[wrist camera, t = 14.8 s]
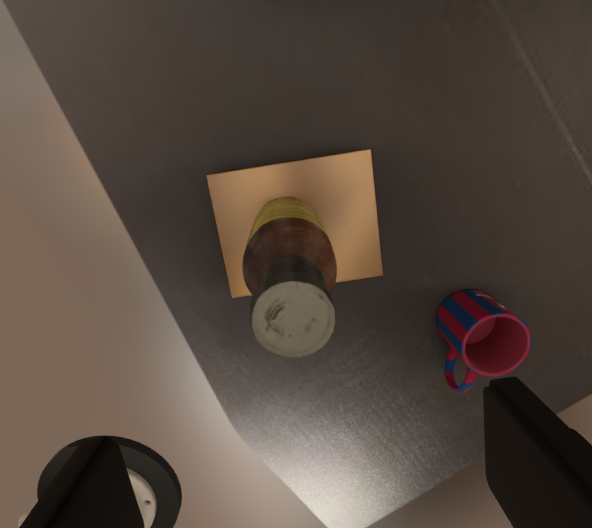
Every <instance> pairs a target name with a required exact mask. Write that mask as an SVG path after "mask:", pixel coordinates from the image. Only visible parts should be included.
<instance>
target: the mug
mask: <svg viewBox="0 0 592 528" xmlns="http://www.w3.org/2000/svg"><path fill="white" fill-rule="evenodd" d="M437 327H438V330H439V332H440V334H441V335H442V336H443V337H444V339H445V340H446V341H447V342H448V344H449V345H450V346H451V347H450V350H449V353H448V356H447V359H446V363H445V378H446V381H447V383H448V385H449V386H450V387H451V388H452V389H453V390H455V391H457V392H461V393H465V392H467V391H468V390H469V389H470V388H471V387H472V386H473V384H474V382H475V379H476V377H477V374H479V375H483V376H489V377H493V376H500V375H504V374H507V373H509V372H511V371H513V370H514V369H516V368H517V367H518V366H519V365H520V364H521V363H522V362H523V361H524V360H525V359H526V357H527V355H528V353H529V351H530V348H531V342H532V341H531V333H530V330H529V328H528V326H527V325H526V324H525V322H524V321H522V320H521V319H520V318H519V317H517V316H516V315H515V314H513V313H512V312H510V311H509V310H508V309H506V308H505V307H504V306H502V305H501V304H499V303H498V302H497V301H495V300H494V299H493V298H491V297H490V296H488V295H487V294H486V293H484V292H482V291H479V290H474V289H466V290H461V291H458V292H456V293H454V294H452V295H451V296H449V297H448V298H447V299H446V300H445V301H444V302H443V303H442V305H441V306H440V308H439V310H438V314H437ZM457 355H458V356H459V357H460V358H461V359H462V361H463V362H464V363H465V364H466V365H467V374H466V377H465V380H464V382H463V383H462V384H461V385H460V386H457V384H456V382H455V380H454V376H453V369H454V364H455V360H456V358H457Z"/></svg>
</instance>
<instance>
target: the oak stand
mask: <svg viewBox="0 0 592 528" xmlns="http://www.w3.org/2000/svg"><path fill="white" fill-rule="evenodd" d="M206 177H207V182H208V187H209V191H210V196H211V201H212V205H213V210H214V215H215V220H216V224H217V229H218V234H219V238H220V243H221V248H222V253H223V257H224V262H225V267H226V271H227V276H228V281H229V286H230V290H231V295H232V298H235V297H242V296H249V295H252V294H251V293H250V291H249V290H248V288H247V286H246V284H245V281H244V277H243V272H242V262H243V256H244V252H245V248H246V245H247V242H248V238H249V236H250V232H251V230H252V227H253V223H254V220H255V218H256V216H257V214H258V213H259V211H260V210H261V209H262V208H263V207H264V206H265V205H266V204H267V203H269V202H270V201H272V200H274V199H278V198H283V197H296V198H298V199H300V200H303V201H304V202H306V203H308V204H309V205H310V206H311V207H312V208H313V209H314V210H315V211H316V213H317V214H318V216H319V218H320V220H321V222H322V224H323V226H324V228H325V231H326V233H327V235H328V237H329V239H330V241H331V244H332V247H333V252H334V254H335V258H336V264H337V277H336V282H342V281H349V280H356V279H363V278H369V277H376V276H382V275H383V271H382V261H381V250H380V240H379V230H378V219H377V209H376V199H375V189H374V178H373V168H372V158H371V150H370V149H362V150H356V151H350V152H343V153H337V154H331V155H324V156H318V157H312V158H306V159H299V160H293V161H287V162H281V163H274V164H268V165H262V166H255V167H249V168H243V169H237V170H230V171H224V172H218V173H213V174H209V175H206Z"/></svg>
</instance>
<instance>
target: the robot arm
mask: <svg viewBox="0 0 592 528" xmlns="http://www.w3.org/2000/svg"><path fill="white" fill-rule="evenodd" d="M483 400H484V431H485V463H486V478H487V481H488V484H489V487H490V489H491V491H492V493H493V494H494V496H495V498H496V499H497V501H498V503H499V504H500V506H501V508H502V509H503V511H504V512H505V514H506V516H507V518H508V519H509V521H510V522H511V524H512V526H513V527H514V528H592V445H591V444H590V443H589V442H587V440H585V439H584V438H583V437H582V436H581V435H580V434H579V433H578V432H576V431H575V430H574V429H571V428H569V427H568V426H567V425H566V424H565V423H564V422H563V421H562V420H561V419H560V418H559V417H558V416H557V415H556V414H554V413H553V412H552V411H551V410H550V409H549V408H548V407H547V406H546V405H545V404H544V403H543V402H542V401H541V400H540V399H539V398H538V397H537V396H536V395H535V394H534V393H533V392H532V391H531V390H530V389H529V388H528V387H527V386H526V385H525V384H523V383H522V382H521V381H520V380H519V379H518V378H517V377H507V378H501V379H494V380H491V381H490V383H489V386H488V387H485V388H484V390H483ZM156 510H157V501H156V497H155V493H154V492H153V490H152V488H151V486H150V485H149V484H148V482H147V481H146V480H145V479H144V478H143V477H142V476H140V475H139V474H138V473H136V472H134V471H133V470H131V469H129V468H126V466H125V462H124V459H123V456H122V453H121V450H120V447H119V445H118V443H117V442H116V441H112V439H111V438H110V437H108V436H104V437H97V438H90V439H85V440H83V441H82V442H81V443H80V444H79V446H78V447H77V448H76V450H75V451H74V452H73V454H72V455H71V457H70V458H69V459H68V461H67V462H66V463H65V465H64V466H63V468H62V469H61V470H60V472H59V473H58V474H57V476H56V477H55V479H54V480H53V481H52V483H51V484H50V486H49V487H48V488H47V490H46V491H45V492H44V494H43V495H42V497H41V498H40V499H39V501H38V502H37V503H36V505H35V507H34V508H33V509H32V510H31V512H30V513H24V514H23V515H22V516H21V517H20V519H19V522H18V528H150V526H151V525H152V522H153V520H154V517H155V514H156Z"/></svg>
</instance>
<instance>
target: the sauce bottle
mask: <svg viewBox="0 0 592 528" xmlns="http://www.w3.org/2000/svg"><path fill="white" fill-rule="evenodd" d="M242 272H243V277H244V281H245V284H246V286H247V288H248V290H249V291H250V293H251V294H252V295H253V296H254V297H253V299H252V303H251V308H250V322H251V327H252V331H253V334H254V336H255V338H256V339H257V341H258V342H259V343H260V344H261V345H262V346H263V347H264V348H265V349H267V350H268V351H270V352H272V353H274V354H276V355H277V356H283V357H291V358H299V357H304V356H307V355H310V354H312V353H314V352H316V351H318V350H319V349H321V348H322V347H323V346H324V345H325V344H326V343H327V342H328V340H329V339H330V337H331V335H332V333H333V331H334V329H335V322H336V314H335V307H334V303H333V300H332V297H331V292H332V291H333V289H334V287H335V285H336V277H337V264H336V258H335V254H334V252H333V247H332V244H331V241H330V239H329V237H328V235H327V233H326V231H325V228H324V226H323V224H322V222H321V220H320V218H319V216H318V214H317V213H316V211H315V210H314V209H313V208H312V207H311V206H310V205H309V204H308V203H306V202H304V201H303V200H300V199H298V198H296V197H283V198H278V199H274V200H272V201H270V202H269V203H267V204H266V205H265V206H264V207H263V208H262V209H261V210H260V211H259V213H258V214H257V216H256V218H255V220H254V223H253V227H252V230H251V232H250V236H249V238H248V242H247V245H246V248H245V252H244V256H243V262H242Z"/></svg>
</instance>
